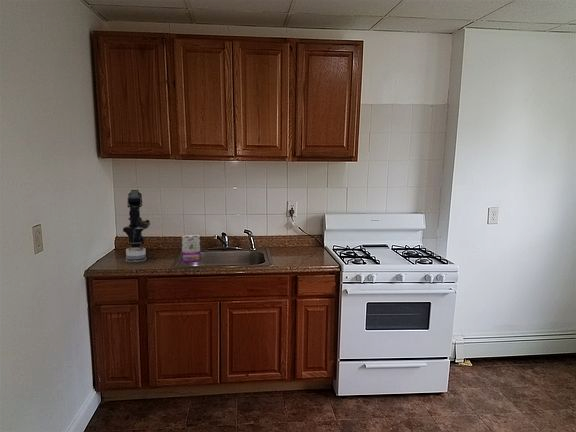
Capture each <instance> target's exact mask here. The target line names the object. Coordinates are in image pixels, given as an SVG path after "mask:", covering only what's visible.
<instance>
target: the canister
mask: <svg viewBox="0 0 576 432" xmlns="http://www.w3.org/2000/svg"><path fill="white" fill-rule="evenodd" d="M133 248H140V249H141V250H137V251H131V250H130V249H133ZM133 248H132V247H128V248H126V249H125V254H126V255H125V257H126V258H125V262H126V263H131V264H132V263H133V264H134V263H142V262H145V261H146V262H147V257H146V251H147V250H146V248H145V247H143V246H141V247H133Z"/></svg>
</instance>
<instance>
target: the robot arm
mask: <svg viewBox="0 0 576 432" xmlns="http://www.w3.org/2000/svg"><path fill="white" fill-rule="evenodd" d="M142 206H143V194H142V193H141V192H140V191H139V189H130V192H129V193H128V195H127V208H129V212H128V215H129V217H128V220H129V224H128V226H124V227H123V228H122V231H123V232H124V233H125V234H126V235H127V236H128V243H129V244H128V245H129V246H131V248H133V247H142V245H145V237H144V236H143V235H142V234H143V233H142V232H144V230H147V229H149V227H150V226H151V222H150V220H149V219H146V220H143V217H141V211H140V210H141V209H140V208H142Z"/></svg>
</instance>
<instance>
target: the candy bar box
mask: <svg viewBox="0 0 576 432" xmlns="http://www.w3.org/2000/svg"><path fill="white" fill-rule="evenodd" d="M201 261H202V260H201V235H200V234H190V235H189V234H186V235H181V262H182V264H183V263H184V264H185V263H186V264H187V263H201Z"/></svg>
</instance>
